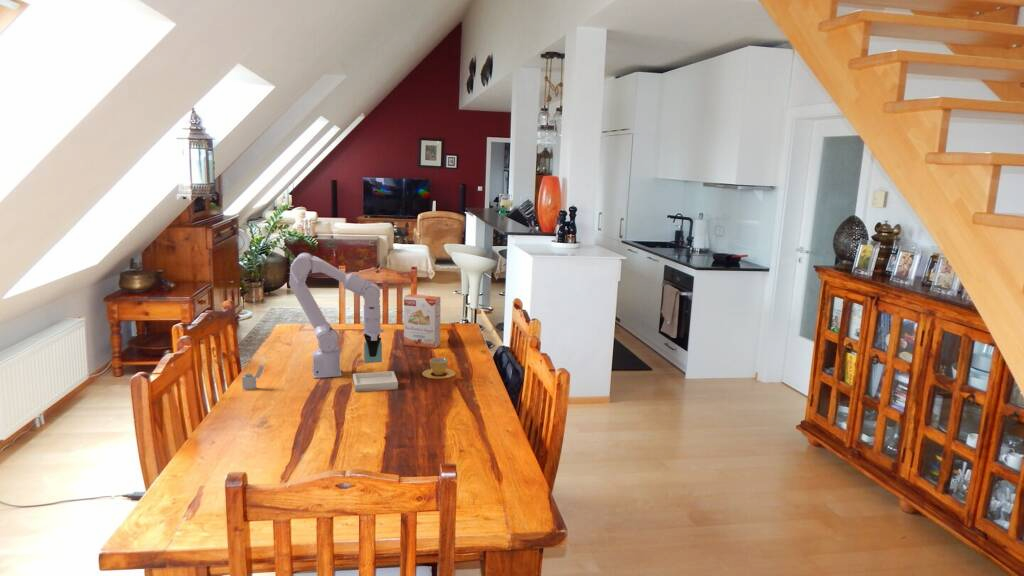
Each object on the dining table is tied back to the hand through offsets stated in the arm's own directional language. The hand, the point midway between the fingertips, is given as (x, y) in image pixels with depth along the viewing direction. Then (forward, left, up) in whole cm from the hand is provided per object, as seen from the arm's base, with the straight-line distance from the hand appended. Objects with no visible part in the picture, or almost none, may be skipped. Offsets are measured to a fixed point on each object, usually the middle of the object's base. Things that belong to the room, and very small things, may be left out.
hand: (372, 355), depth 249 cm
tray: (0, -13, -7) cm, 15 cm away
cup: (+23, -6, -7) cm, 25 cm away
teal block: (0, 0, -2) cm, 2 cm away
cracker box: (+23, +32, -7) cm, 40 cm away
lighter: (-40, -8, -7) cm, 41 cm away
